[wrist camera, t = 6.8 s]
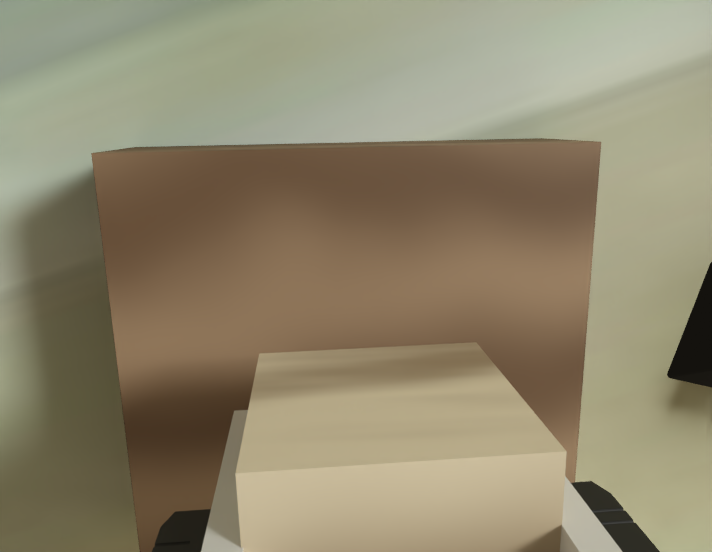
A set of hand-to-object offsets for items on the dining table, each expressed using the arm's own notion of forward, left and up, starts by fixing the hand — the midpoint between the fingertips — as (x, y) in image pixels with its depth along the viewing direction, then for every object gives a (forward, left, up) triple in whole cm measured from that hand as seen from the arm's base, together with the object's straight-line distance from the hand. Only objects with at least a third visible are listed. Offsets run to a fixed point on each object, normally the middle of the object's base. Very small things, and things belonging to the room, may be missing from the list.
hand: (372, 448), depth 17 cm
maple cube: (0, 0, 0) cm, 0 cm away
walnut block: (0, 0, -9) cm, 9 cm away
